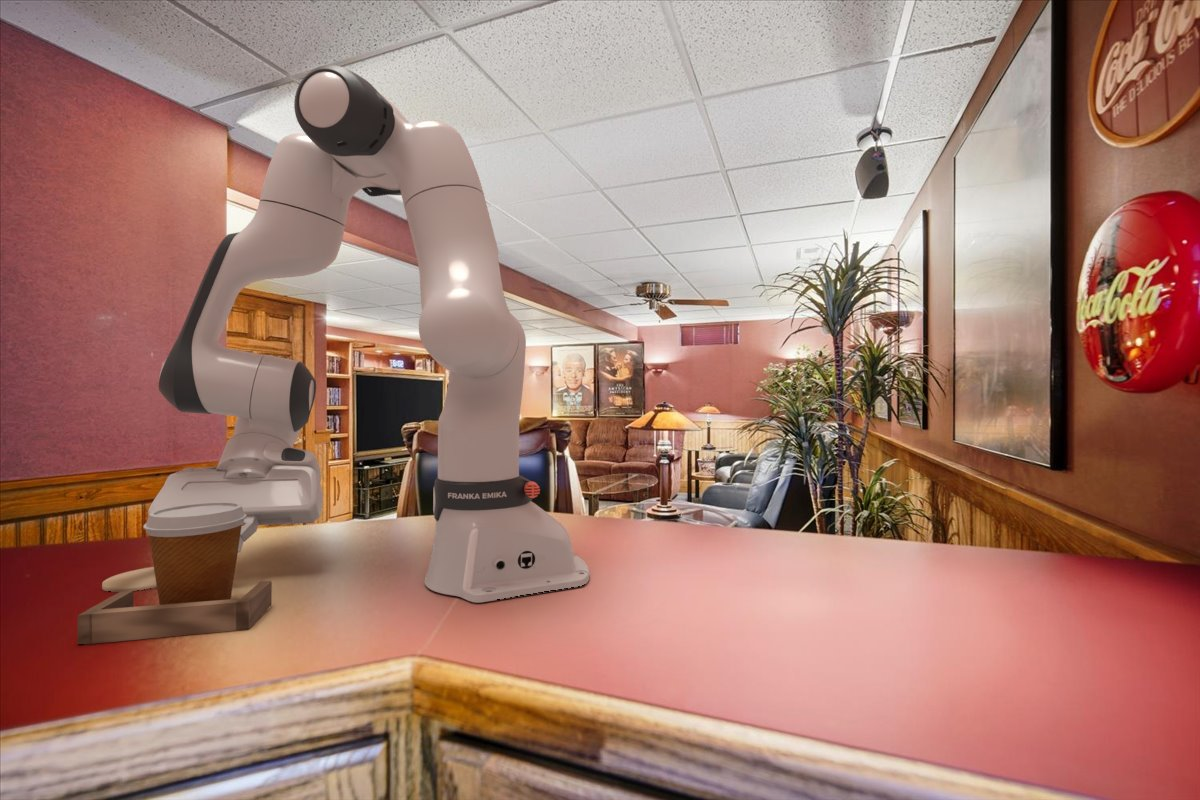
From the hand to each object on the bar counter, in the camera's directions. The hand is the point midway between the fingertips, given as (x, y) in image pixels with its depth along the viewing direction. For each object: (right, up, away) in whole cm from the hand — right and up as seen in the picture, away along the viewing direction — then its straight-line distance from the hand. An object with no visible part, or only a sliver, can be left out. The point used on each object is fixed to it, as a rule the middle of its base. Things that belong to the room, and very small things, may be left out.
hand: (225, 551), depth 68 cm
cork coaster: (-13, -5, +3) cm, 14 cm away
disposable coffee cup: (+2, -5, -7) cm, 9 cm away
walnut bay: (+3, -5, -10) cm, 11 cm away
